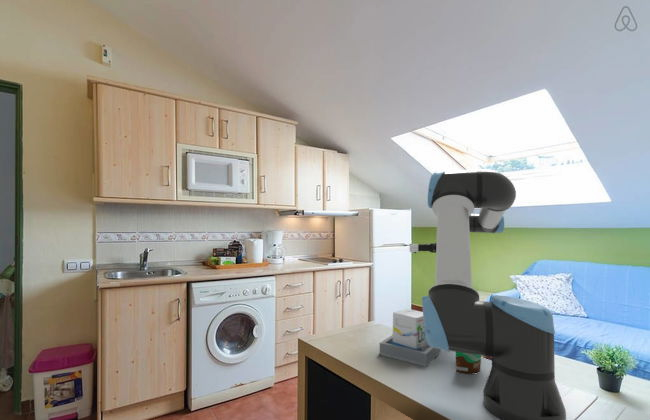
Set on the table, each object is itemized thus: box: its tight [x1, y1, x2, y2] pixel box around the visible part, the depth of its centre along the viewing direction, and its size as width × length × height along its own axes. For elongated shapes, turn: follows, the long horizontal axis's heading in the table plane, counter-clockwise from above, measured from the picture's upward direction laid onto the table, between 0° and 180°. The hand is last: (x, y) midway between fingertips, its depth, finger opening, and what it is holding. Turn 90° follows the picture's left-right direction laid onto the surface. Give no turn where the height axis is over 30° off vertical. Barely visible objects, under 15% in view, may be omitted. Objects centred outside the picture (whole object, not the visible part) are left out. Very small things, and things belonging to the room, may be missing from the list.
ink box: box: [392, 308, 430, 352], centre depth 102 cm, size 9×8×12 cm
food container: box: [454, 351, 482, 375], centre depth 91 cm, size 12×6×10 cm, turn 143°
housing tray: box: [378, 334, 442, 367], centre depth 102 cm, size 14×14×4 cm
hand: (430, 249), depth 110 cm, fingers open, 13 cm apart
